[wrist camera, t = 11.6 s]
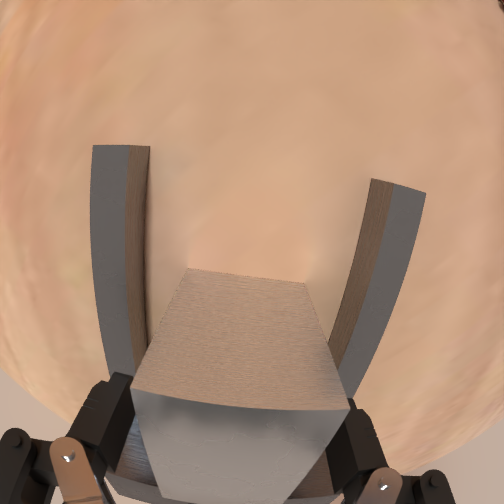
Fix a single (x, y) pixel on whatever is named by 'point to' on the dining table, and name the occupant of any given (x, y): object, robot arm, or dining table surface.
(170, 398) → the block
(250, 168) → the dining table surface
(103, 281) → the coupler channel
